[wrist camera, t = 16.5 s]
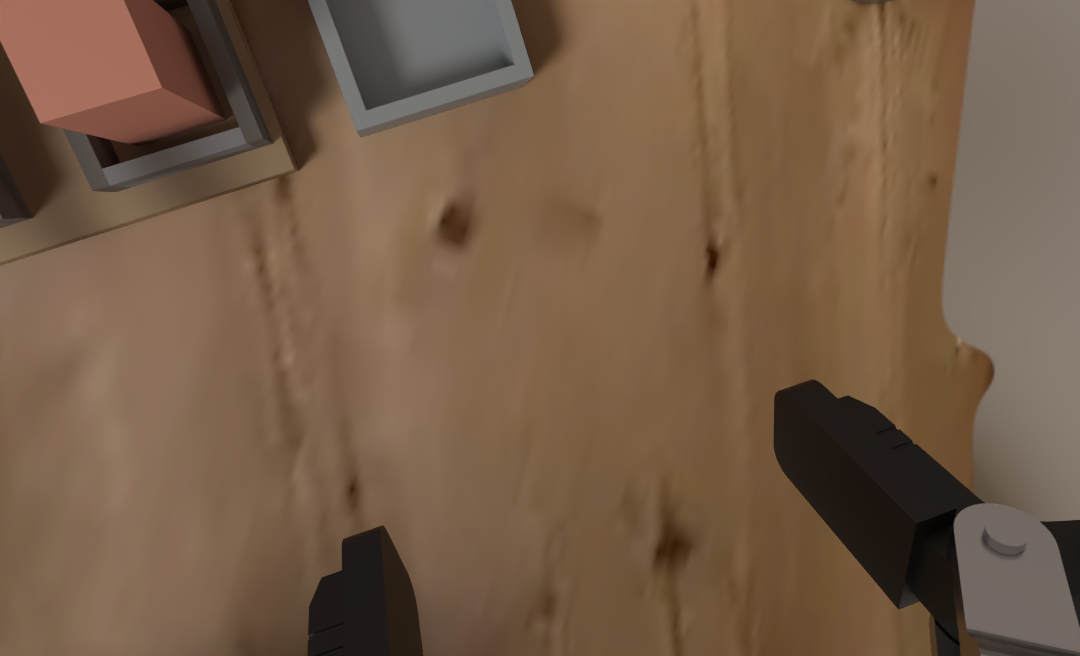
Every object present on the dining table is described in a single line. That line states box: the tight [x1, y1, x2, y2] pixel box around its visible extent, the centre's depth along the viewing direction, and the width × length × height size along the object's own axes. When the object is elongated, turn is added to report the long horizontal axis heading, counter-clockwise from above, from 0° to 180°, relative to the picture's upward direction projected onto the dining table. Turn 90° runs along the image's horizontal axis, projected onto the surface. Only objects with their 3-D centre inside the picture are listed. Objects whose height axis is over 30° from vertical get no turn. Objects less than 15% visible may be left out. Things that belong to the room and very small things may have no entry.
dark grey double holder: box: [0, 0, 299, 265], centre depth 31 cm, size 21×11×4 cm, turn 108°
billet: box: [0, 0, 227, 146], centre depth 28 cm, size 4×4×9 cm
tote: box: [308, 0, 534, 137], centre depth 34 cm, size 10×10×3 cm
